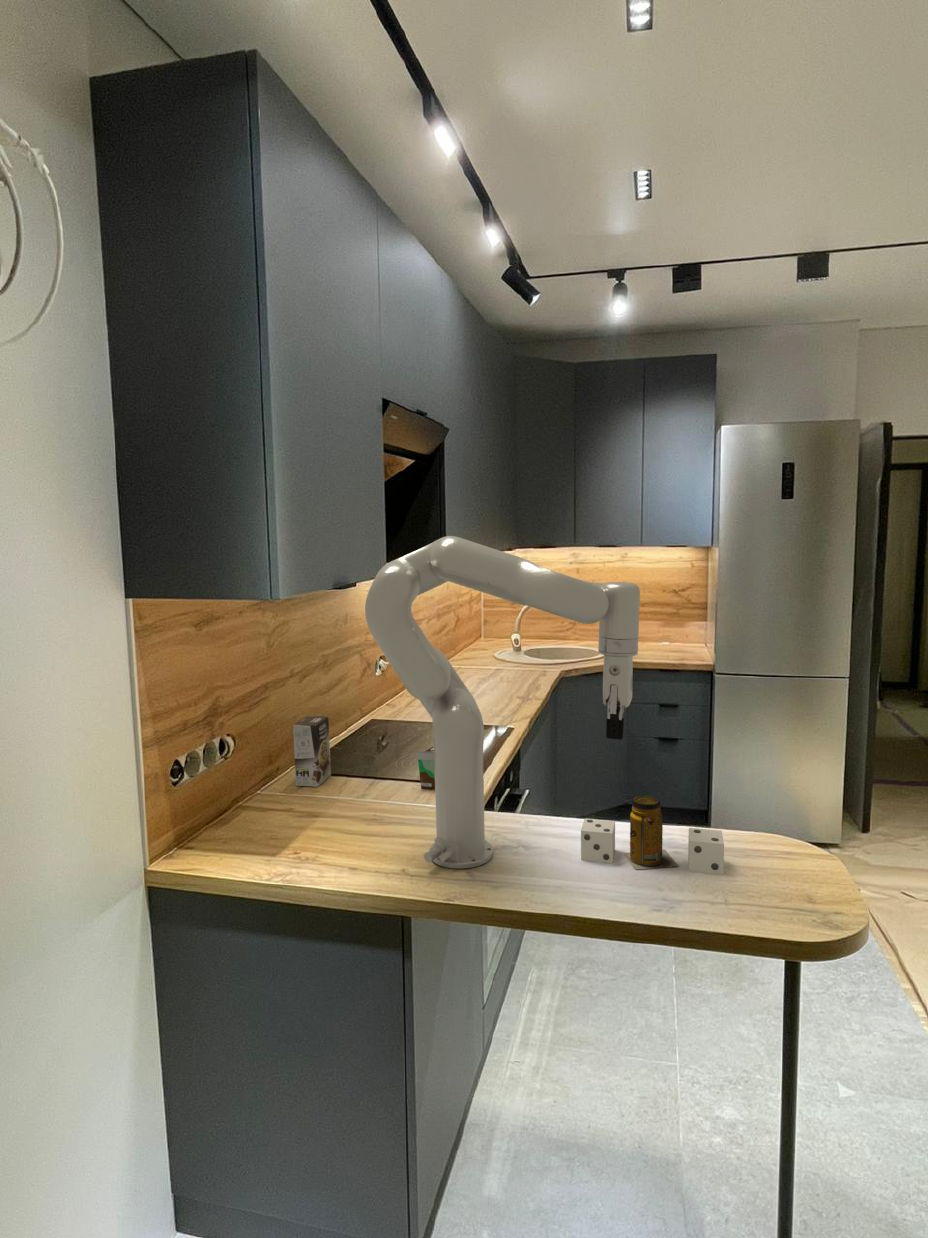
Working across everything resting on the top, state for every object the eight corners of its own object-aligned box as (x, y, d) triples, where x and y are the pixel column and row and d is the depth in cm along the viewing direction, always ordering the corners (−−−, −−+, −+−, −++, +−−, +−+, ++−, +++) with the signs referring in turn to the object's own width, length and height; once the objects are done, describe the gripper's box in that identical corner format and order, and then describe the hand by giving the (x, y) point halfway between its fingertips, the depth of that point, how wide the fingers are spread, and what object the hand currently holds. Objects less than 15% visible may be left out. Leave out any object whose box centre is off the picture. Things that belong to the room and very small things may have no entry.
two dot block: (723, 875, 132) (724, 843, 131) (689, 872, 134) (689, 840, 133) (721, 860, 138) (721, 830, 137) (688, 857, 140) (688, 827, 139)
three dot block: (612, 863, 138) (612, 833, 137) (581, 860, 139) (580, 830, 139) (615, 850, 144) (615, 820, 143) (584, 847, 145) (584, 818, 144)
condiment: (623, 853, 142) (623, 794, 140) (665, 850, 143) (665, 792, 141) (635, 870, 135) (635, 809, 133) (679, 867, 135) (680, 806, 134)
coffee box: (318, 787, 182) (315, 725, 180) (295, 786, 184) (291, 724, 182) (332, 775, 191) (329, 715, 189) (309, 774, 193) (306, 715, 191)
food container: (436, 795, 175) (435, 755, 174) (417, 790, 179) (415, 751, 178) (466, 780, 185) (465, 742, 184) (448, 776, 189) (447, 738, 187)
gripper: (634, 653, 132) (630, 750, 134) (640, 641, 146) (637, 730, 148) (593, 650, 134) (590, 746, 136) (603, 639, 148) (600, 726, 150)
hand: (614, 737), depth 142 cm, fingers closed
